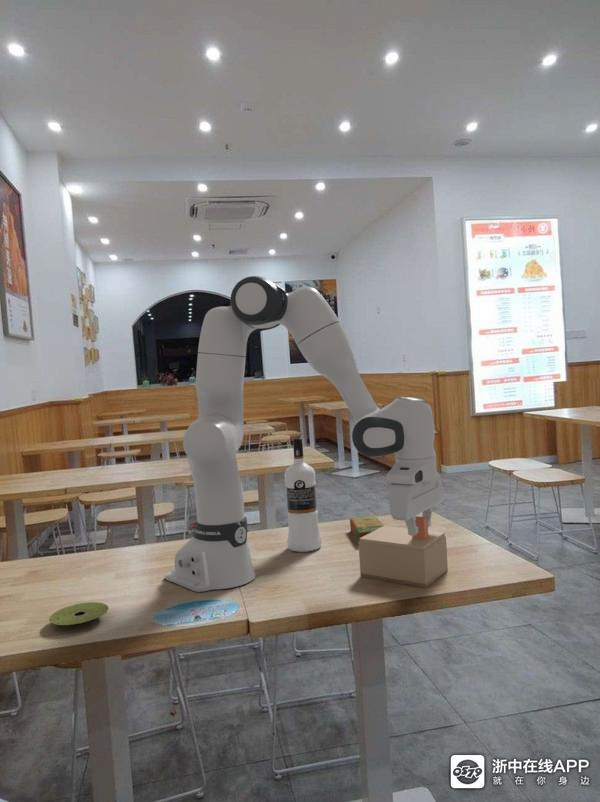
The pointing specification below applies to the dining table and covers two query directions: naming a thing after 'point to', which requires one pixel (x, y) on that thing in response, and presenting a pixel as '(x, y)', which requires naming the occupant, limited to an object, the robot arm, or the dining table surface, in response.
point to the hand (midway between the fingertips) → (419, 530)
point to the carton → (364, 526)
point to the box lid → (404, 536)
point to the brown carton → (403, 563)
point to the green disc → (78, 613)
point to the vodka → (301, 503)
